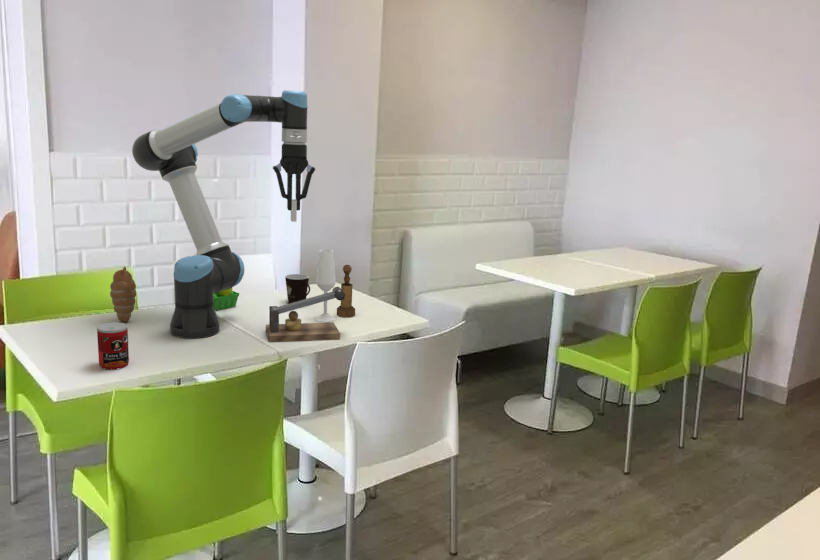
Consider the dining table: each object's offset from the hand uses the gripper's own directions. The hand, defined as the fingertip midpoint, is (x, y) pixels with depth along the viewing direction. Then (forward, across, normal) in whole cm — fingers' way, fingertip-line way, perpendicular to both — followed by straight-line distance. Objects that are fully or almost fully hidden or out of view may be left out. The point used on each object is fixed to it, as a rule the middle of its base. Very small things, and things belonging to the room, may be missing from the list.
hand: (293, 220), depth 225 cm
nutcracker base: (+36, +3, -2) cm, 37 cm away
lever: (+27, +5, -2) cm, 28 cm away
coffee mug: (+37, +6, +35) cm, 51 cm away
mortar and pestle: (+37, +21, +19) cm, 46 cm away
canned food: (+37, -51, -22) cm, 67 cm away
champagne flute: (+37, +13, +15) cm, 42 cm away
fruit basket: (+37, -21, +33) cm, 54 cm away
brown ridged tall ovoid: (+37, -52, +19) cm, 66 cm away
